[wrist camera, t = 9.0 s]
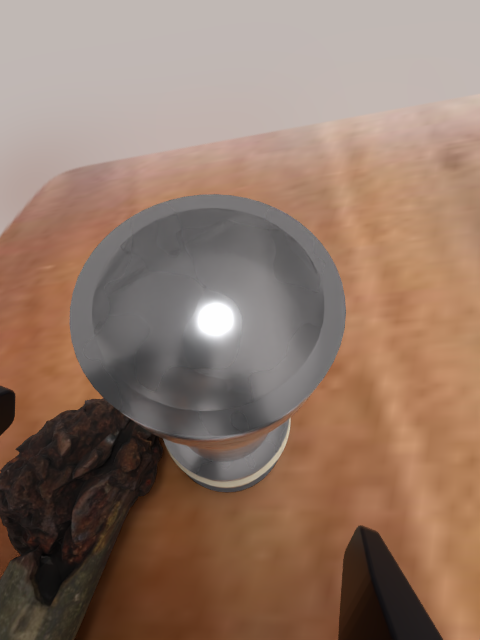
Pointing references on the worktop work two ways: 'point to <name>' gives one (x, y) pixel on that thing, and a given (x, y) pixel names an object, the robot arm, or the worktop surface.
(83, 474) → the brown and green club
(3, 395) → the robot arm
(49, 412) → the worktop surface
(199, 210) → the metal knob
